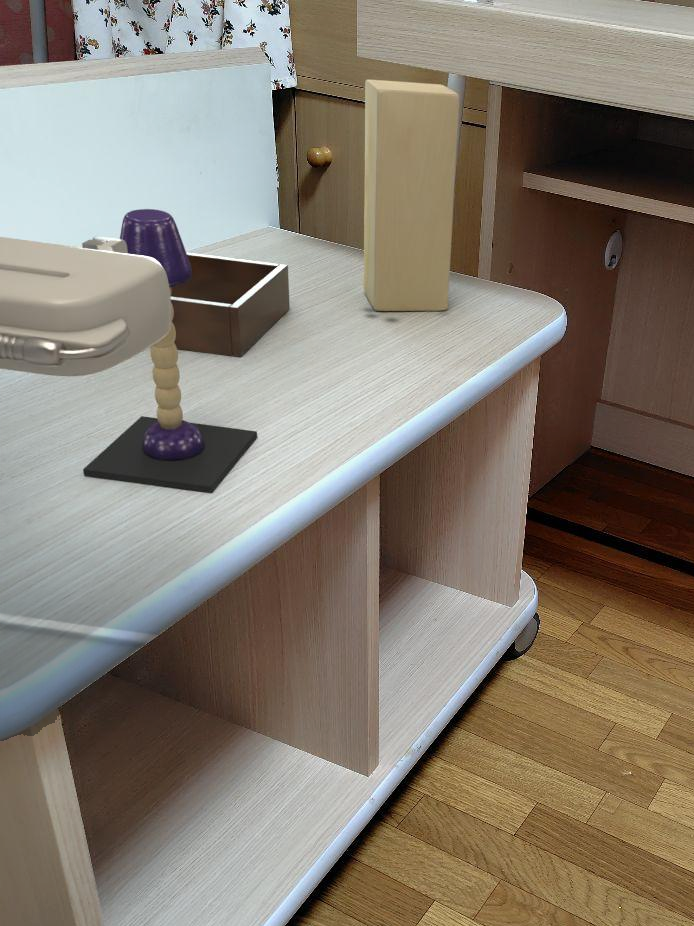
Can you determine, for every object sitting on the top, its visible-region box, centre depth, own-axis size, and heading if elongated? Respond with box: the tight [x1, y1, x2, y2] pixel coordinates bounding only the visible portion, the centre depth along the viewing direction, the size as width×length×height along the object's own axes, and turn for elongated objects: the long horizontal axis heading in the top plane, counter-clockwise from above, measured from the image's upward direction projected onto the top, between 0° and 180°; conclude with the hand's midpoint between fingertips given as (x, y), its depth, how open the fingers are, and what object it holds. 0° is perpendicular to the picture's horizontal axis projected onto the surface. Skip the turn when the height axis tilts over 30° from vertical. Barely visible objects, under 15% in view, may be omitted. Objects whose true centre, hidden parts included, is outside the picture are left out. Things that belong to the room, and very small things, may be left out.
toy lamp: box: [119, 208, 205, 460], centre depth 67 cm, size 5×5×17 cm
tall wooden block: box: [363, 79, 460, 312], centre depth 100 cm, size 8×7×21 cm
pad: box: [82, 415, 258, 493], centre depth 71 cm, size 9×9×1 cm
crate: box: [171, 251, 291, 358], centre depth 93 cm, size 14×14×4 cm
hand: (26, 241), depth 52 cm, fingers open, 8 cm apart
